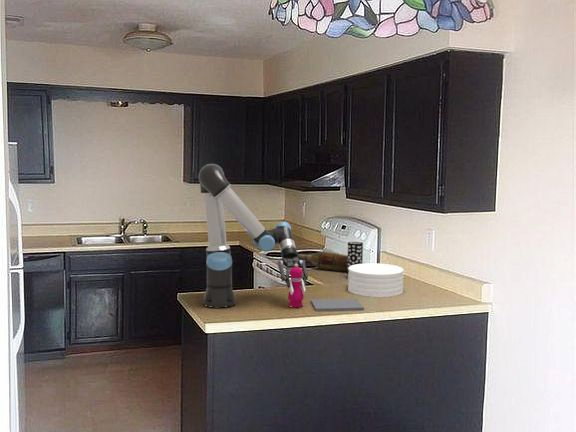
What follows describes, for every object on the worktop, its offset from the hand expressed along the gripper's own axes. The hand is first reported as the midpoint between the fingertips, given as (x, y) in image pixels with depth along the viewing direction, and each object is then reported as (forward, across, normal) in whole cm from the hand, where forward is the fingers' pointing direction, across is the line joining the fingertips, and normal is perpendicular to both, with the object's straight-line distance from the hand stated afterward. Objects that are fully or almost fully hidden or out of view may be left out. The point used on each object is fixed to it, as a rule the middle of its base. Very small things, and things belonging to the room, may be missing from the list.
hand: (298, 292), depth 277 cm
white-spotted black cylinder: (-31, -49, -42) cm, 72 cm away
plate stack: (-11, -49, -22) cm, 55 cm away
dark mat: (+6, -18, -5) cm, 20 cm away
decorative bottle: (-53, -38, -63) cm, 91 cm away
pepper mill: (+3, 0, -8) cm, 8 cm away
